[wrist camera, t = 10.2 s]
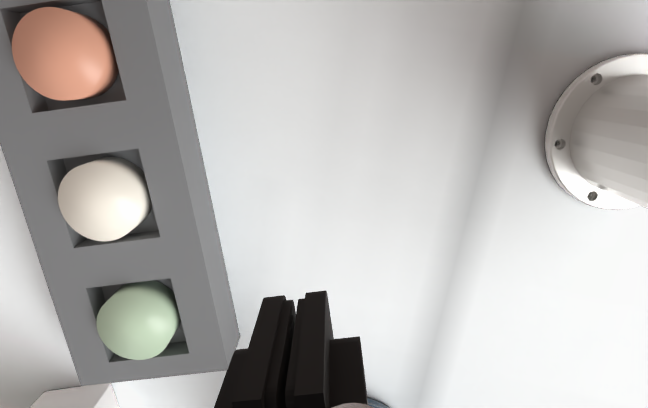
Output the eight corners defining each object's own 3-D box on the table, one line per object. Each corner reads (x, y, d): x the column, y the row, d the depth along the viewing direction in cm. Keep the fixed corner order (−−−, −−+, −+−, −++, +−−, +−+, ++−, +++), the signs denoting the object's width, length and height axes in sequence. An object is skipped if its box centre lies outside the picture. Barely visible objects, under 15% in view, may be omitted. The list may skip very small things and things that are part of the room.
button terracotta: (107, 7, 31) (87, 0, 29) (128, 93, 33) (111, 94, 30) (26, 19, 32) (-1, 13, 29) (51, 103, 33) (27, 105, 31)
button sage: (173, 275, 37) (161, 289, 35) (188, 337, 39) (178, 355, 36) (104, 283, 37) (87, 298, 35) (122, 344, 39) (107, 363, 36)
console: (163, -29, 34) (136, -46, 29) (239, 336, 42) (228, 369, 38) (0, -4, 34) (-54, -17, 29) (108, 351, 43) (81, 385, 38)
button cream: (142, 152, 34) (127, 158, 32) (161, 224, 36) (147, 236, 33) (68, 162, 35) (47, 168, 32) (89, 233, 36) (71, 245, 34)
